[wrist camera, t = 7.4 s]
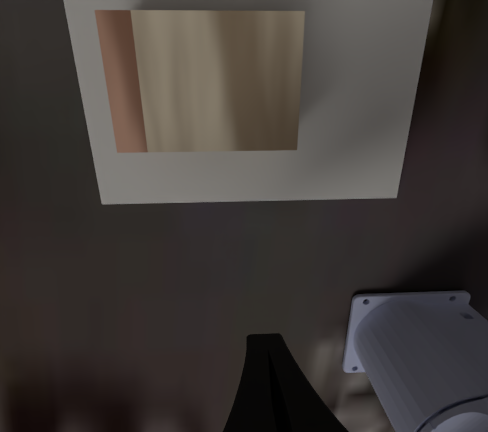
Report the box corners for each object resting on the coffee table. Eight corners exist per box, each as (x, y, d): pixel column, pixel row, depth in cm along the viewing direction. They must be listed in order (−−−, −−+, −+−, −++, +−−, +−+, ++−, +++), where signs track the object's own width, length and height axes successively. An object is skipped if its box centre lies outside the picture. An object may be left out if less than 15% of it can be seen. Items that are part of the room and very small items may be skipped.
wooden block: (305, 10, 13) (94, 10, 13) (297, 150, 15) (117, 152, 15) (288, 30, 17) (124, 30, 16) (283, 140, 19) (139, 142, 19)
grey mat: (430, -9, 17) (435, -12, 16) (393, 196, 21) (396, 197, 21) (64, -12, 16) (60, -15, 16) (104, 202, 20) (101, 204, 20)
